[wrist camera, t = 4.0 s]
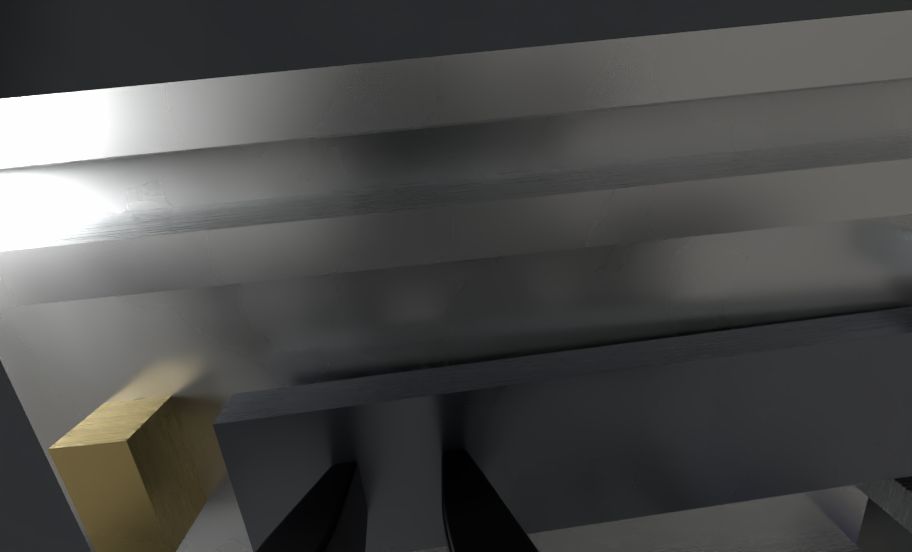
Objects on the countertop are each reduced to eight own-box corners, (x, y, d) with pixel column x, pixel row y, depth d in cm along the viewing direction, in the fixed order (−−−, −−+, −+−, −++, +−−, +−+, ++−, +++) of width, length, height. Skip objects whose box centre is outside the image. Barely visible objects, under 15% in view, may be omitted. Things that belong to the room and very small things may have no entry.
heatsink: (814, 490, 13) (1061, 725, 8) (213, 556, 13) (63, 843, 8) (904, 47, 9) (1484, -59, 4) (60, 131, 9) (-432, 129, 4)
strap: (940, 427, 9) (1029, 477, 8) (280, 523, 8) (256, 596, 7) (984, 284, 8) (1094, 313, 7) (239, 378, 7) (201, 431, 6)
